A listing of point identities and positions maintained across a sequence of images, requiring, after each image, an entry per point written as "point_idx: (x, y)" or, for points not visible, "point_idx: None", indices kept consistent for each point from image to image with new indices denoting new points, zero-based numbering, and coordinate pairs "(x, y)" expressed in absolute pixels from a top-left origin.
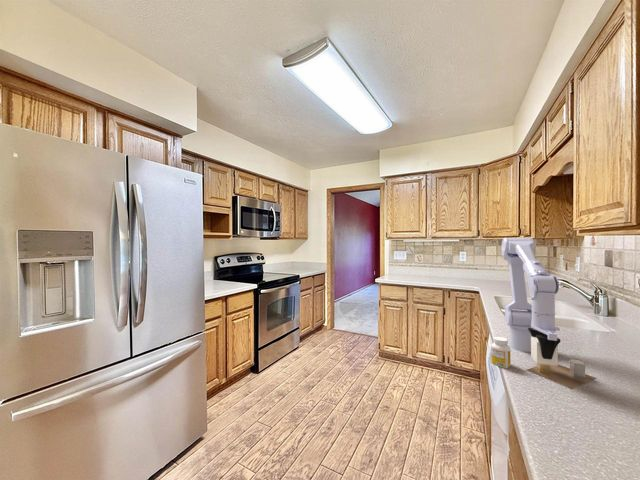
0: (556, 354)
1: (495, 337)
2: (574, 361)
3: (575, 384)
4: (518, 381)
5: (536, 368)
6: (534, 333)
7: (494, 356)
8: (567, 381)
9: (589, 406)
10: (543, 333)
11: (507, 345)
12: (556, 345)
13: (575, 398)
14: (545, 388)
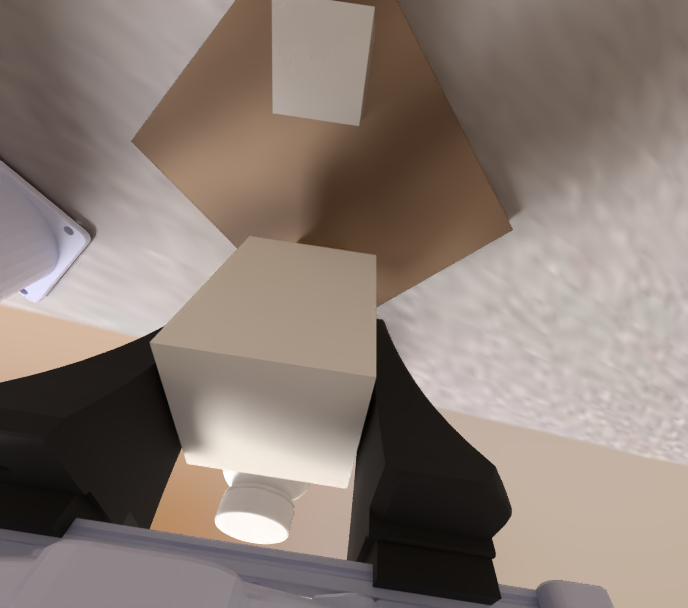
0: (373, 309)
1: (240, 537)
2: (314, 92)
3: (460, 173)
4: None
5: None
6: (153, 482)
7: None
8: (426, 201)
9: (640, 217)
10: (120, 441)
11: None
12: (445, 425)
13: (560, 239)
14: (465, 316)
